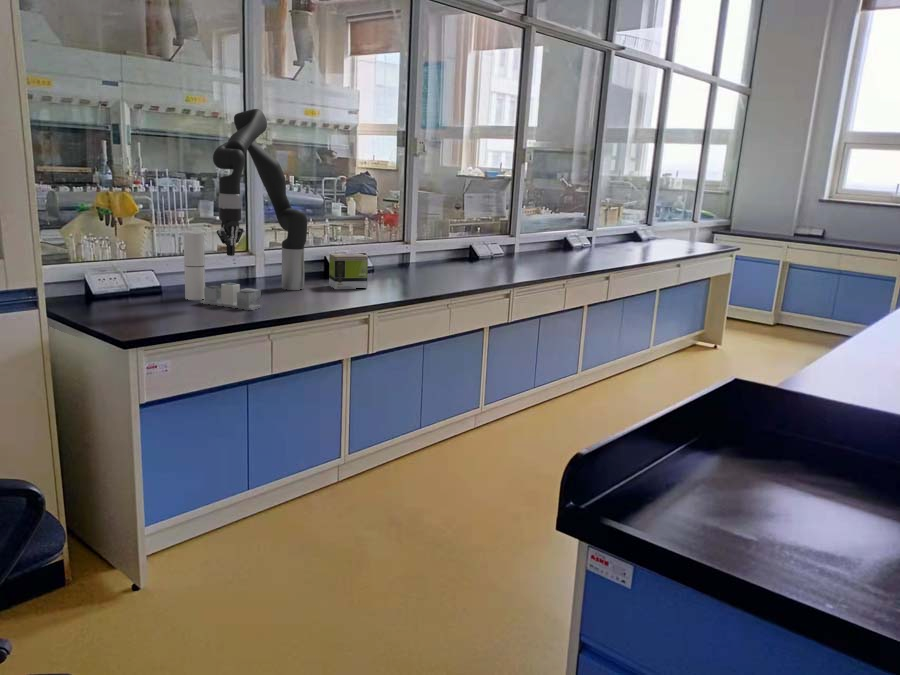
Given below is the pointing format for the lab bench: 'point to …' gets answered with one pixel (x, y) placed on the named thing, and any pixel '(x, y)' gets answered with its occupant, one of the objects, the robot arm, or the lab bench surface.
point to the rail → (244, 301)
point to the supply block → (254, 290)
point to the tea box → (348, 271)
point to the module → (229, 293)
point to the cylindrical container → (194, 265)
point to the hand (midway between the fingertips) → (230, 255)
